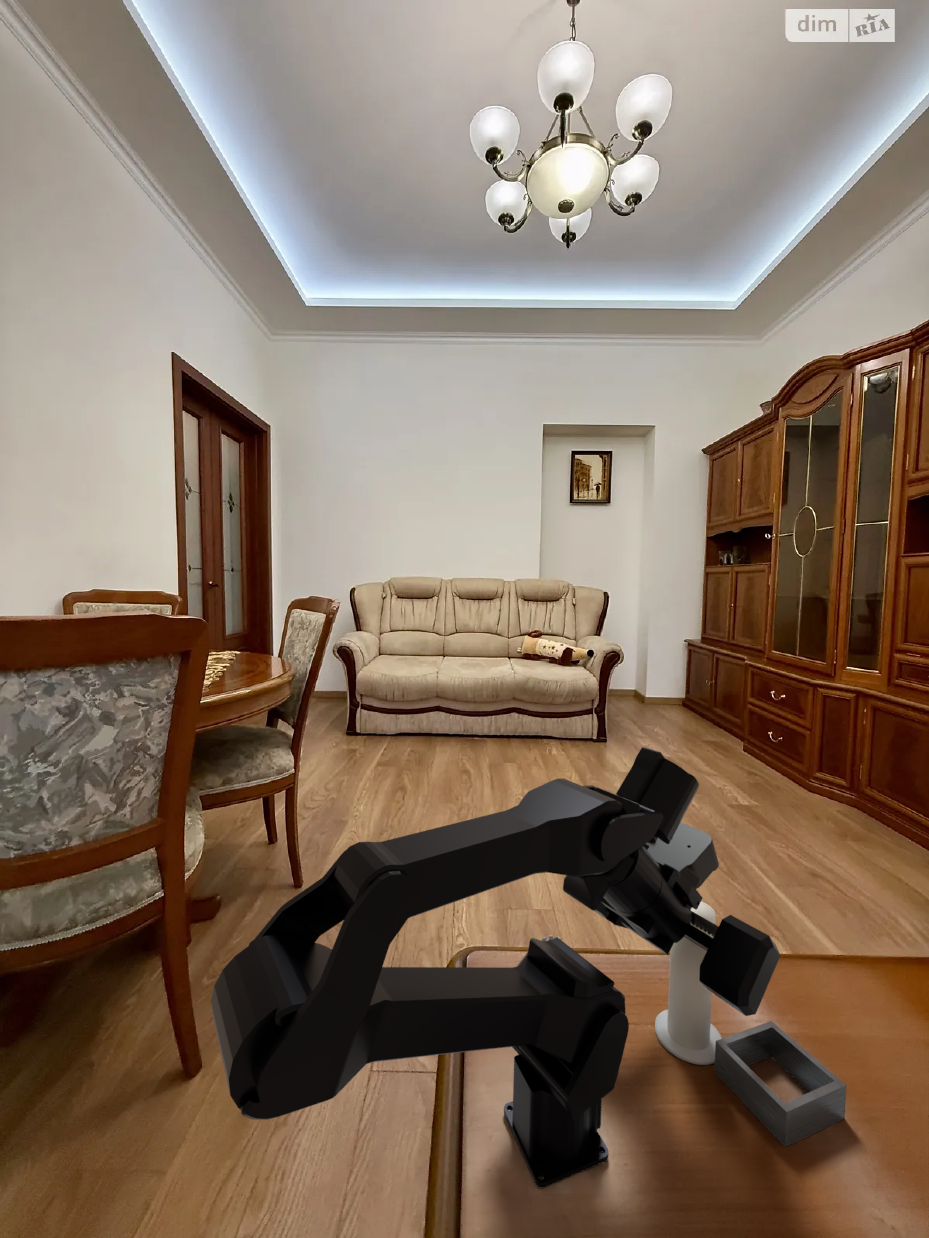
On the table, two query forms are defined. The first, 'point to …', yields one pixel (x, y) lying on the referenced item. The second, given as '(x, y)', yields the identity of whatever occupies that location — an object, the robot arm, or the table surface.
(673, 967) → the cream peg
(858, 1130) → the table surface
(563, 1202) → the table surface
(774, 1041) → the frame
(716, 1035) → the white oval disc
